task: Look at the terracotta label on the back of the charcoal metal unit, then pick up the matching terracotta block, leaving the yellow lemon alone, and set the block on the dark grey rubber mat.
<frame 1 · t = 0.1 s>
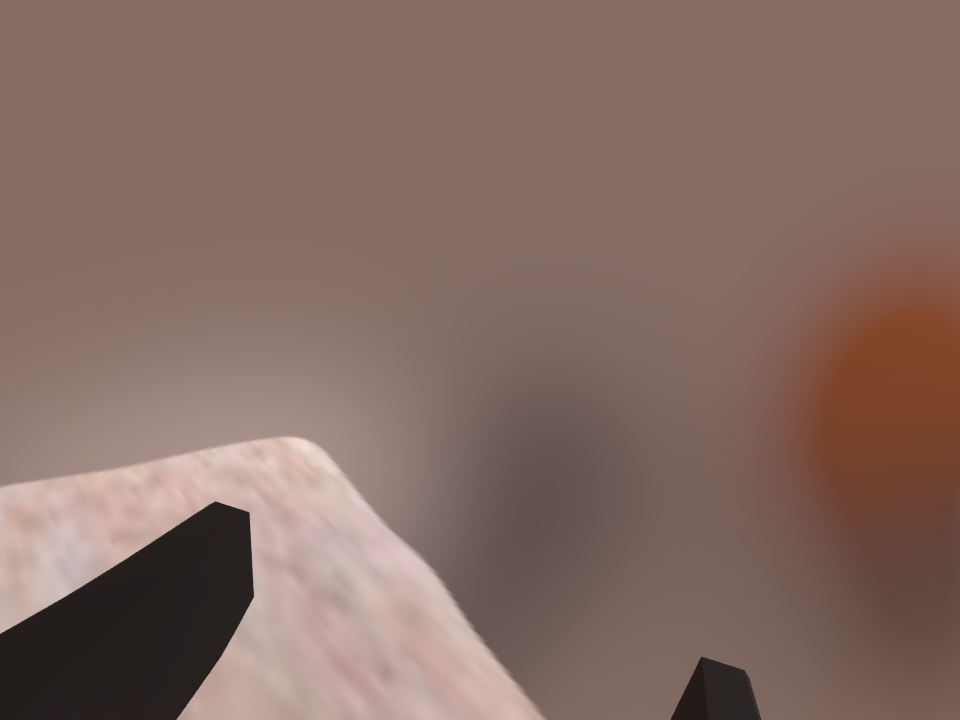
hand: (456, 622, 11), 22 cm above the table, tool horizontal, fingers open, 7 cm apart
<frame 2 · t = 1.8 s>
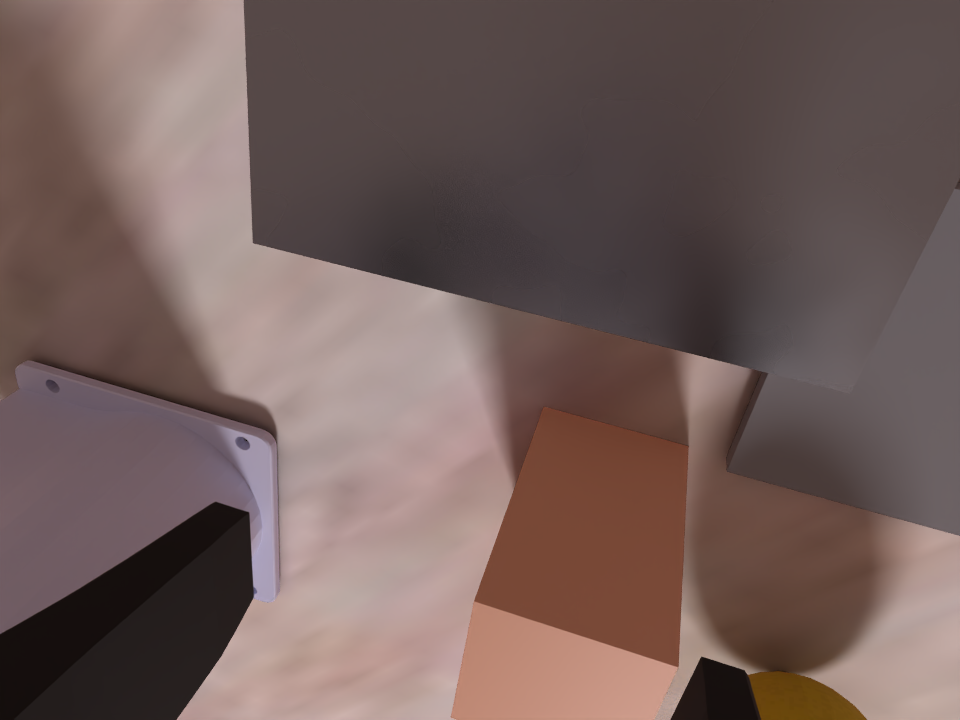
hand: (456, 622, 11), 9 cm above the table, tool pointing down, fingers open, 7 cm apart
terracotta block: (598, 480, 21), on the table
lemon: (778, 669, 23), on the table
parts unit: (621, 62, 15), on the table
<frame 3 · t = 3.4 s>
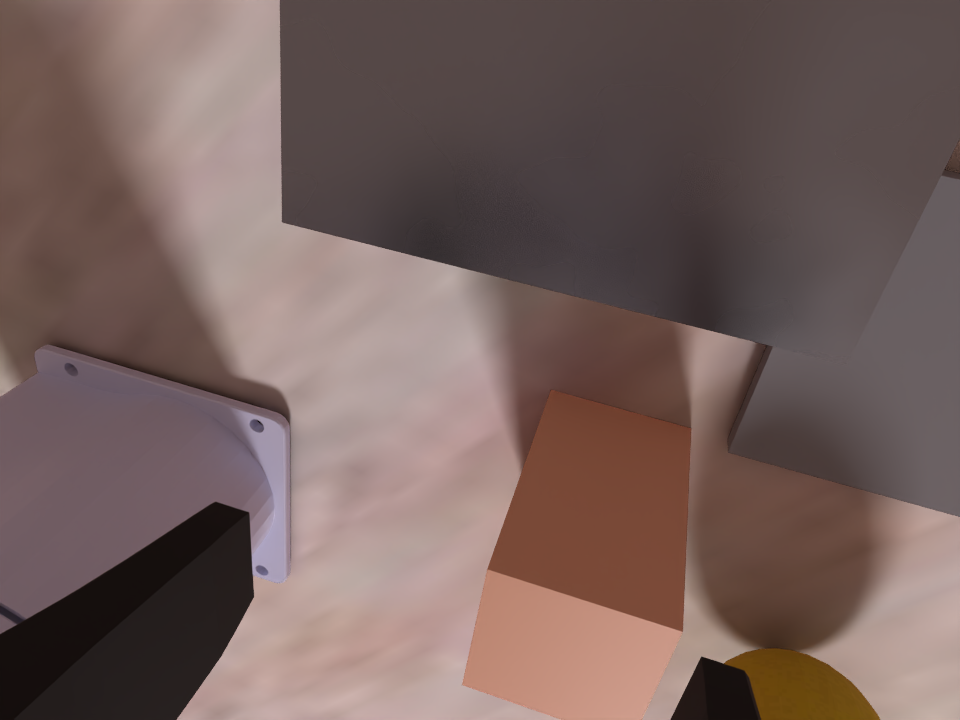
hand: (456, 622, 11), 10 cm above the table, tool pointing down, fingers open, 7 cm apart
terracotta block: (603, 462, 21), on the table
lemon: (776, 648, 23), on the table
parts unit: (630, 55, 16), on the table
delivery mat: (954, 355, 17), on the table
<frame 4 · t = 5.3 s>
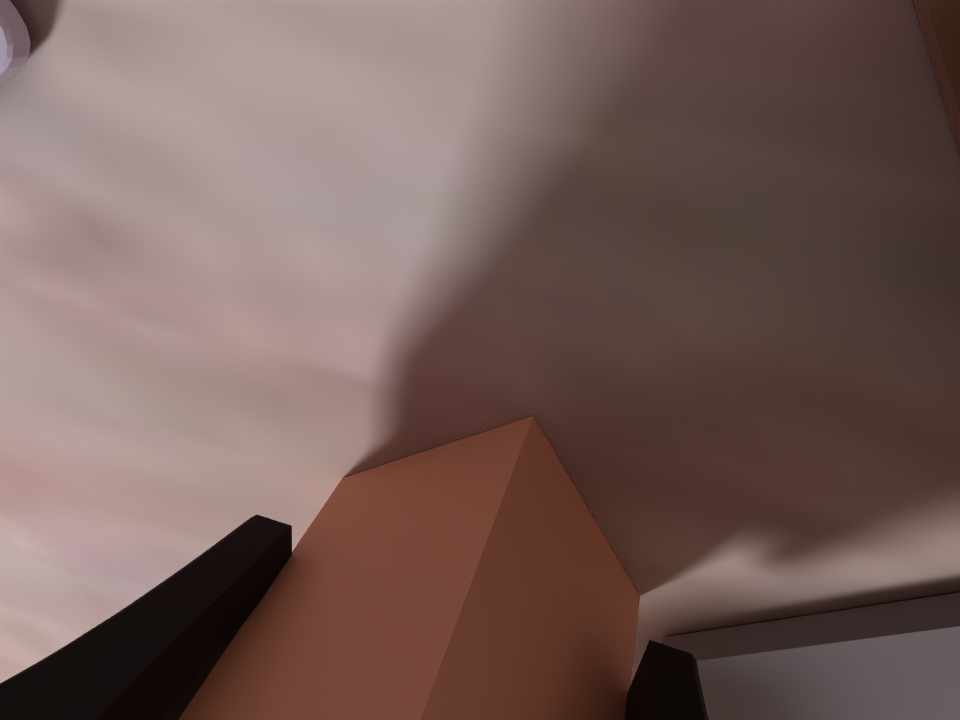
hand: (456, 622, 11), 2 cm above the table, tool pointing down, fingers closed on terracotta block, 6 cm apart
terracotta block: (488, 535, 13), on the table, touching gripper
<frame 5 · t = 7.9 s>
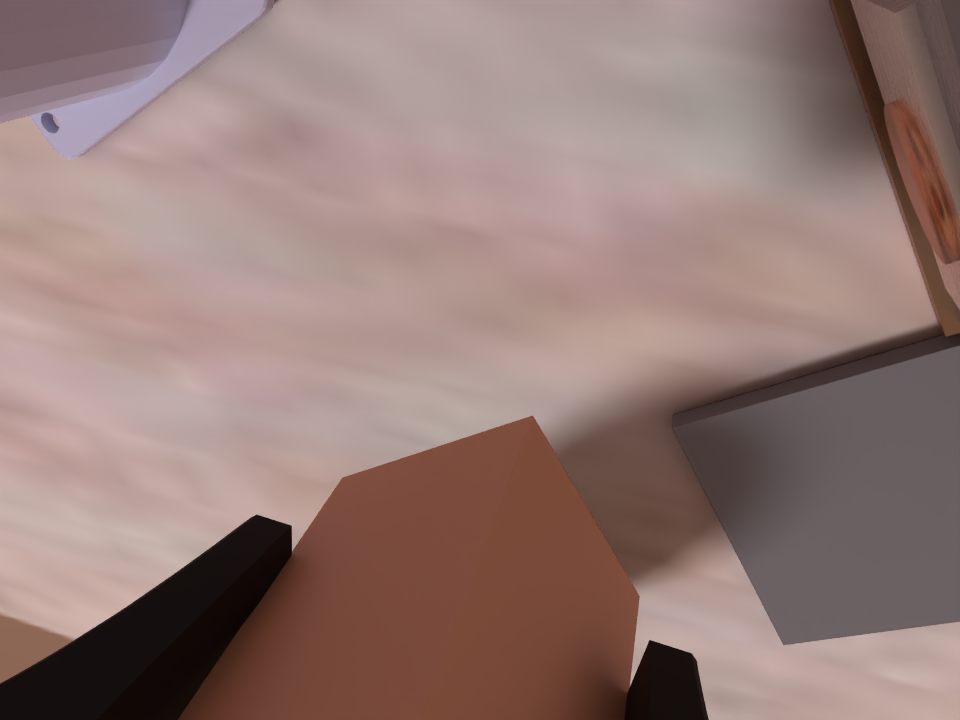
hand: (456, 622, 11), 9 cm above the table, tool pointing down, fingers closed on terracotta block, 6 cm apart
terracotta block: (487, 535, 13), point 7 cm above the table, touching gripper
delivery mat: (888, 495, 18), on the table
when the fingers open (3 cm above the table, at t = 10.6 s): terracotta block stays where it is, resting on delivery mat.
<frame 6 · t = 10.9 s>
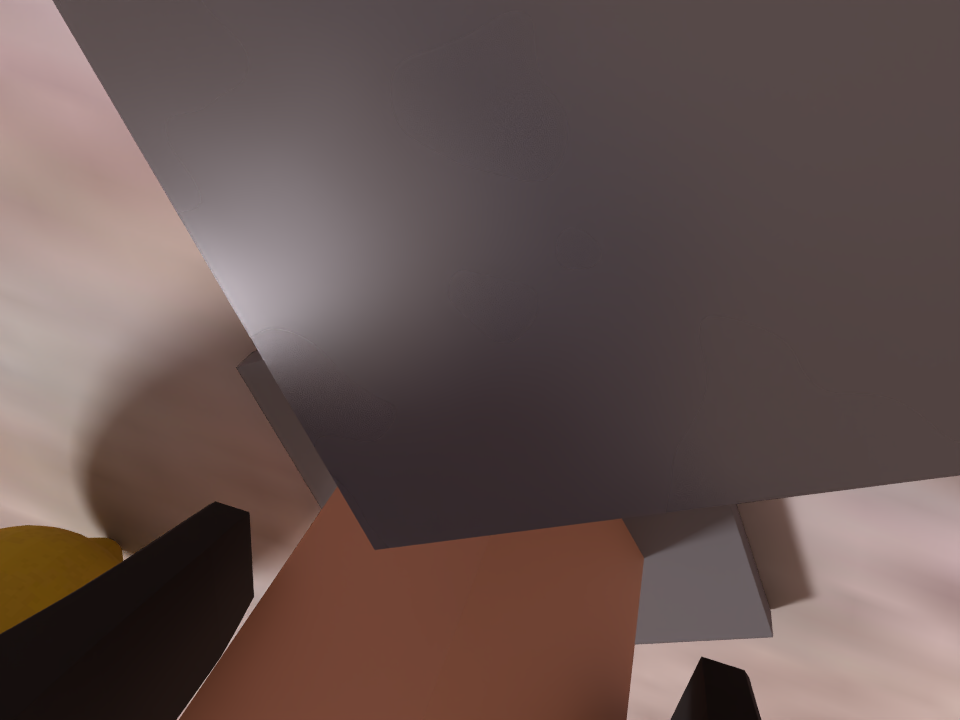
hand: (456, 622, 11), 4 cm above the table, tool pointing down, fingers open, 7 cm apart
terracotta block: (501, 501, 14), point 1 cm above the table, touching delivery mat
lemon: (118, 538, 19), on the table
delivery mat: (509, 480, 14), on the table
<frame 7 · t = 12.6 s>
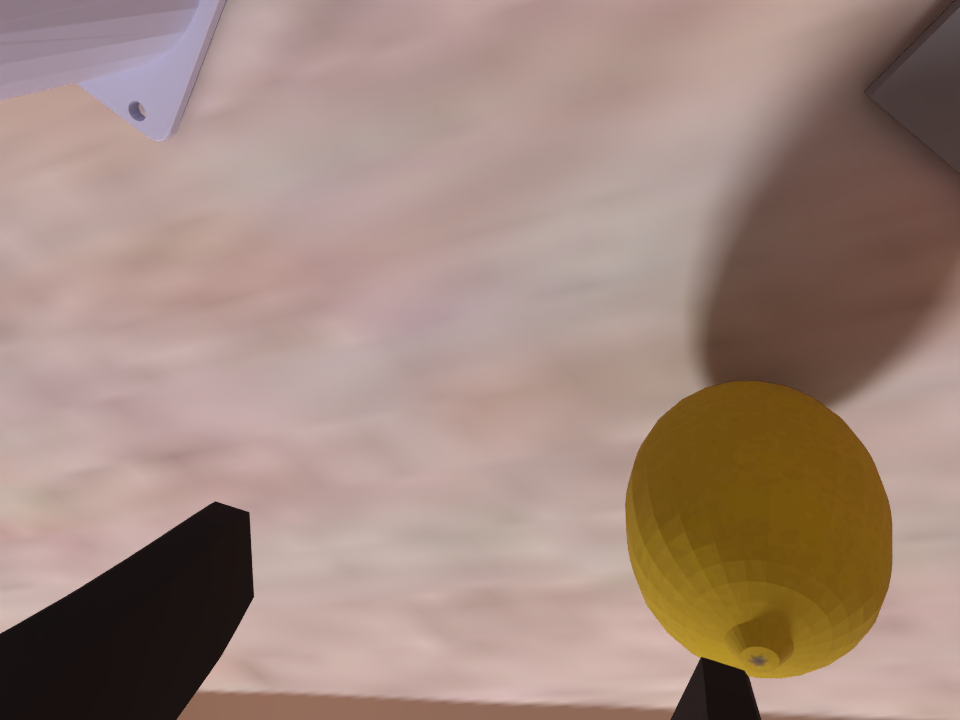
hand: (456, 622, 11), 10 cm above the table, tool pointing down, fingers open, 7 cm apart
lemon: (743, 412, 20), on the table
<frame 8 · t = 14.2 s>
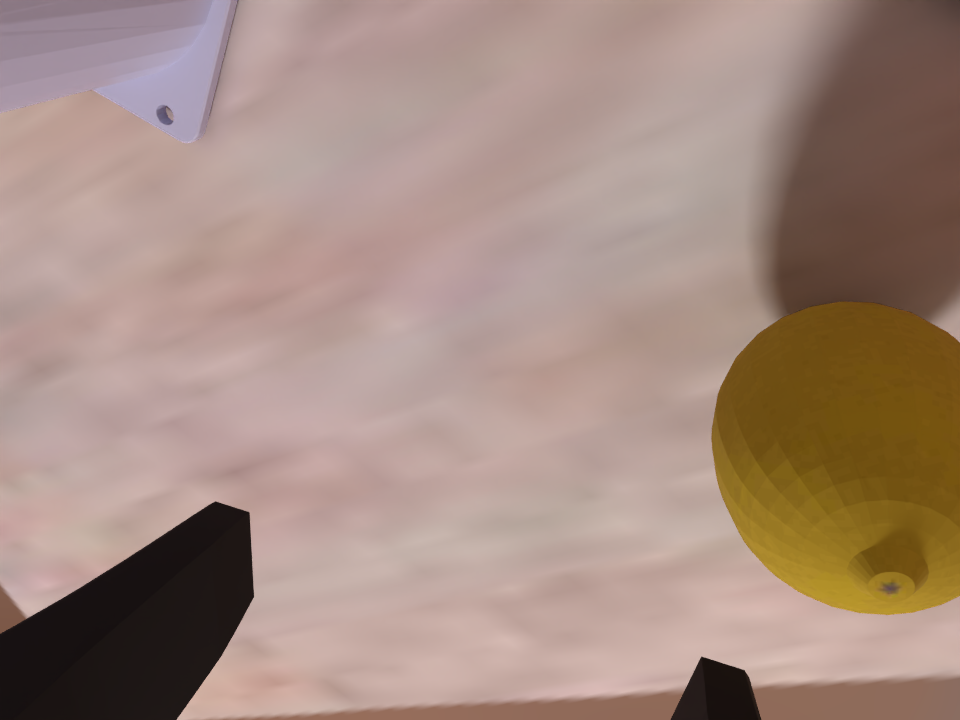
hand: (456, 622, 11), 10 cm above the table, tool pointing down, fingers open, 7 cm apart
lemon: (824, 347, 18), on the table
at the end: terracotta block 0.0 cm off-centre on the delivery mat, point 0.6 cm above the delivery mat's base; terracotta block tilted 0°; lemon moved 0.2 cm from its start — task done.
